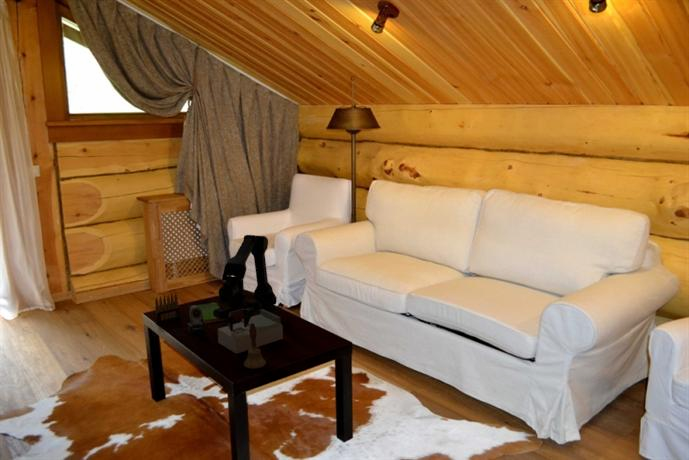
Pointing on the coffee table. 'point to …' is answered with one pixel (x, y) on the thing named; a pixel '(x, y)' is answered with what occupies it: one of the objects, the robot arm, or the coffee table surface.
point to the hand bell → (254, 352)
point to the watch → (195, 320)
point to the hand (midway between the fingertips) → (238, 329)
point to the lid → (264, 320)
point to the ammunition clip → (166, 309)
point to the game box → (209, 312)
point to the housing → (247, 337)
